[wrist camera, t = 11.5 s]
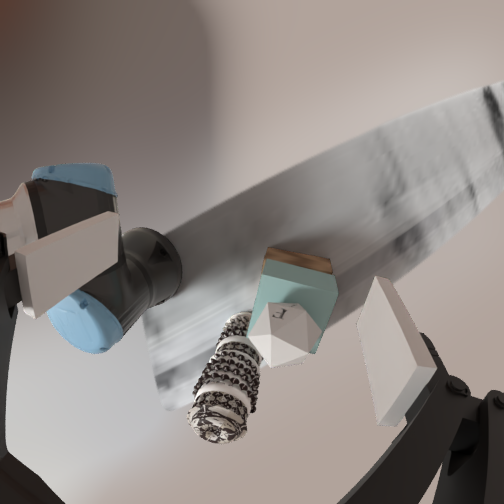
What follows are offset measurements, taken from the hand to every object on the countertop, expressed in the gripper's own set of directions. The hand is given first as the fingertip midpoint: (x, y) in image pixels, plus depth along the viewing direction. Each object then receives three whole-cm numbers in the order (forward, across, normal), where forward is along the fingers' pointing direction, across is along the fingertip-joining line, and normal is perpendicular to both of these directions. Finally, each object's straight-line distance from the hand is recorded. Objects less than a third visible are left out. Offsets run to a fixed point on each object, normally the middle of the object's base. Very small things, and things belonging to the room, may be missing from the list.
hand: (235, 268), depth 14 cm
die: (+23, +5, -16) cm, 28 cm away
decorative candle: (+35, -1, -28) cm, 44 cm away
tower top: (+29, +5, -16) cm, 33 cm away
